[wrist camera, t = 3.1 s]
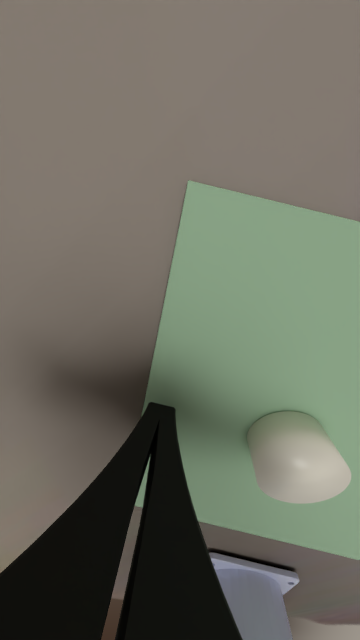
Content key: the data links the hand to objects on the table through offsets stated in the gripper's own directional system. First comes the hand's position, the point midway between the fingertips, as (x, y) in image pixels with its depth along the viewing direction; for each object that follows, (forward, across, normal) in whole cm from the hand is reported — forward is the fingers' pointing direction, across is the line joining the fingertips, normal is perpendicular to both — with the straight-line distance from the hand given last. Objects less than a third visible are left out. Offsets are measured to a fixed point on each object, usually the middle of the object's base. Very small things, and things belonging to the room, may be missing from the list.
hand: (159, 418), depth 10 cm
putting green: (+1, -12, 0) cm, 12 cm away
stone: (+1, -7, 0) cm, 7 cm away
